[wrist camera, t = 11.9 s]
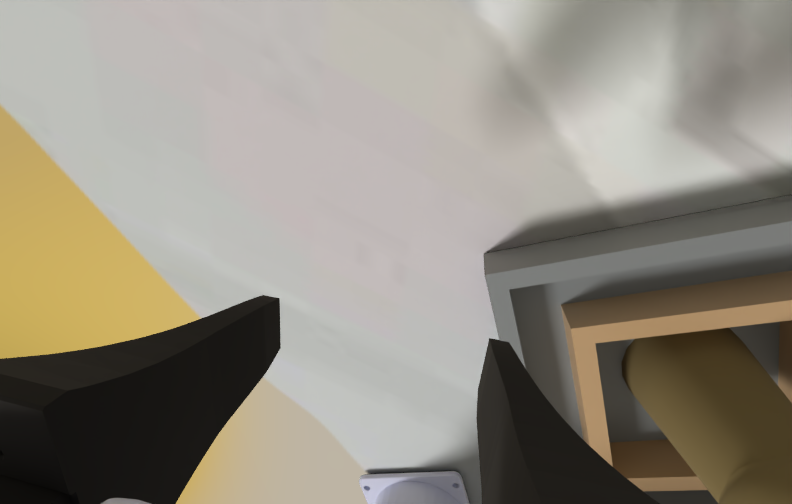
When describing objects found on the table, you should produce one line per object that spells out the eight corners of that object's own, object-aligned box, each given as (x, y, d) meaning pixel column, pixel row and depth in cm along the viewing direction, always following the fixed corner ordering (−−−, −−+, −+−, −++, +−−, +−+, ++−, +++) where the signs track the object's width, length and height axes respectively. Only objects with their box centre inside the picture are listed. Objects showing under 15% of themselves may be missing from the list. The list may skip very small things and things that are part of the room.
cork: (614, 405, 23) (725, 644, 13) (629, 315, 21) (774, 515, 11) (733, 414, 21) (960, 687, 11) (760, 319, 19) (1069, 551, 9)
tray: (859, 478, 22) (920, 537, 19) (536, 486, 27) (543, 534, 24) (893, 175, 17) (984, 190, 14) (483, 253, 22) (484, 277, 19)
